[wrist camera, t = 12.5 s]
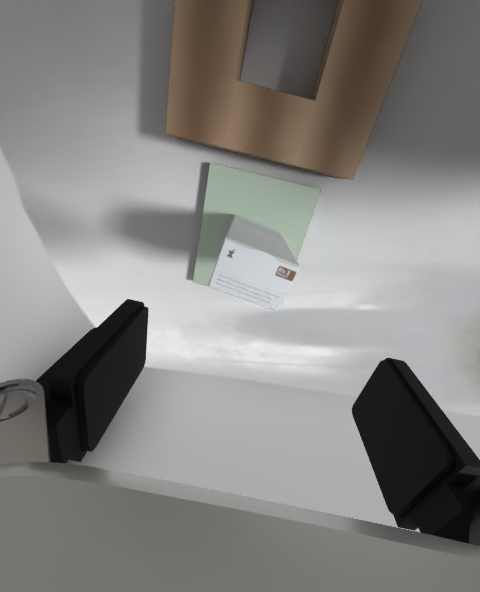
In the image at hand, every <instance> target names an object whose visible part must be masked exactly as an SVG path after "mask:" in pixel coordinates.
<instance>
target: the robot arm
mask: <svg viewBox="0 0 480 592" xmlns="http://www.w3.org/2000/svg"><path fill="white" fill-rule="evenodd" d="M147 324H148V308H147V307H144V303H143V302H139V301H134V300H130V299H127V300H126V301H125V302H124V303H123V304H122V305H121V306H120V307H119V308H117V309H116V310H115V311H114V312H113V313H112V314H111V315H110V316H109V317H108V318H107V319H106V320H105V321H104V322H103V323H102V324H101V325H100V326H99V327H98V328H93V329H92V330H90V331H89V332H88V333H87V334H86V335H85V336H84V337H83V338H82V339H80V340H79V341H78V342H77V343H76V344H75V345H74V346H73V347H72V348H71V349H70V350H69V351H68V352H67V353H65V354H64V355H63V356H62V357H61V358H60V359H59V360H58V361H57V362H56V363H55V364H54V365H52V367H50V368H49V369H48V370H47V371H46V372H45V373H44V374H43V375H42V376H41V377H40V378H38V379H37V380H36V381H33V380H30V379H16V380H9V381H6V382H2V383H0V592H480V460H479V459H478V457H477V456H476V455H475V453H474V452H473V451H472V449H471V448H470V447H469V445H468V444H467V443H466V441H465V440H464V439H463V438H462V436H461V435H460V434H459V432H458V431H457V430H456V428H455V427H454V426H453V424H452V423H451V422H450V420H449V419H448V418H447V417H446V415H445V414H444V412H443V411H442V410H441V409H440V407H439V406H438V405H437V403H436V402H435V401H434V399H433V398H432V397H431V395H430V394H429V393H428V391H427V390H426V389H425V387H424V386H423V385H422V383H421V382H420V381H419V380H418V378H417V377H416V376H415V374H414V373H413V372H412V370H411V369H410V368H409V366H408V365H407V364H406V363H405V362H404V361H401V360H396V359H392V358H386V359H385V360H383V361H381V362H380V363H379V364H378V366H377V368H376V369H375V371H374V372H373V374H372V376H371V377H370V379H369V380H368V382H367V384H366V385H365V387H364V389H363V390H362V392H361V393H360V395H359V397H358V398H357V400H356V401H355V403H354V405H353V407H352V414H353V417H354V420H355V423H356V425H357V428H358V431H359V433H360V436H361V439H362V441H363V443H364V446H365V449H366V452H367V454H368V457H369V460H370V462H371V465H372V468H373V470H374V473H375V476H376V478H377V481H378V484H379V486H380V489H381V491H382V494H383V497H384V499H385V502H386V505H387V507H388V509H389V511H390V512H391V513H392V514H393V515H394V518H395V520H396V523H397V525H398V527H400V528H396V527H391V526H386V525H382V524H377V523H372V522H367V521H363V520H358V519H353V518H349V517H344V516H339V515H334V514H329V513H324V512H320V511H315V510H310V509H305V508H300V507H295V506H290V505H285V504H281V503H276V502H271V501H266V500H261V499H256V498H251V497H246V496H241V495H236V494H231V493H226V492H221V491H216V490H211V489H206V488H201V487H196V486H191V485H186V484H181V483H176V482H171V481H165V480H161V479H156V478H151V477H146V476H140V475H134V474H129V473H122V472H118V471H112V470H107V469H101V468H95V467H89V466H81V465H73V464H66V463H67V461H68V460H73V461H78V462H81V460H82V459H83V457H84V456H85V454H86V452H87V451H90V452H92V451H93V450H94V449H95V447H96V446H97V444H98V443H99V441H100V439H101V437H102V436H103V434H104V433H105V431H106V429H107V427H108V426H109V424H110V422H111V421H112V419H113V418H114V416H115V414H116V412H117V411H118V409H119V407H120V406H121V404H122V402H123V401H124V399H125V397H126V396H127V394H128V392H129V391H130V389H131V388H132V386H133V384H134V383H135V381H136V379H137V377H138V376H139V374H140V373H141V371H142V369H143V367H144V364H145V360H146V342H147ZM418 527H419V529H420V532H421V533H420V532H415V531H410V530H416V529H417V528H418ZM401 528H405V529H410V530H405V529H401Z"/></svg>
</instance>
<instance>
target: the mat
mask: <svg viewBox="0 0 480 592" xmlns="http://www.w3.org/2000/svg"><path fill="white" fill-rule="evenodd" d="M320 191H321V190H320V189H316V188H312V187H308V186H304V185H300V184H296V183H292V182H288V181H284V180H280V179H276V178H272V177H267V176H263V175H259V174H255V173H251V172H247V171H243V170H239V169H235V168H231V167H227V166H223V165H219V164H215V163H210V167H209V174H208V181H207V188H206V195H205V202H204V208H203V215H202V222H201V229H200V236H199V243H198V250H197V257H196V263H195V270H194V277H193V283H197V284H202V285H206V286H208V284H209V281H210V278H211V275H212V273H213V270H214V268H215V265H216V262H217V259H218V256H219V253H220V250H221V247H222V244H223V241H224V238H225V236H226V233H227V231H228V228H229V226H230V224H231V222H232V220H233V217H234V215H238V216H240V217H243V218H245V219H248V220H250V221H252V222H255V223H257V224H260V225H262V226H265V227H267V228H269V229H272V230H274V231H277V232H279V233H281V234H282V235H283V237H284V239H285V241H286V243H287V244H288V246H289V248H290V250H291V252H292V253H293V255H294V257H295V259H296V261H297V259H298V256H299V253H300V250H301V247H302V244H303V241H304V238H305V235H306V232H307V230H308V227H309V224H310V221H311V218H312V215H313V212H314V209H315V206H316V203H317V200H318V197H319V194H320ZM282 303H283V302H282Z"/></svg>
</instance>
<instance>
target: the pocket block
mask: <svg viewBox="0 0 480 592" xmlns="http://www.w3.org/2000/svg"><path fill="white" fill-rule="evenodd" d="M253 2H254V0H175V4H174V19H173V33H172V47H171V61H170V76H169V90H168V104H167V119H166V133H167V134H169V135H172V136H174V137H176V138H180V139H184V140H188V141H192V142H196V143H200V144H204V145H208V146H212V147H216V148H220V149H224V150H228V151H232V152H236V153H240V154H244V155H248V156H252V157H256V158H260V159H264V160H268V161H272V162H276V163H280V164H285V165H289V166H293V167H297V168H301V169H305V170H309V171H313V172H317V173H321V174H325V175H329V176H333V177H337V178H341V179H352V180H353V178H354V176H355V173H356V170H357V168H358V165H359V163H360V160H361V157H362V155H363V152H364V150H365V147H366V145H367V142H368V139H369V137H370V134H371V132H372V129H373V126H374V124H375V121H376V119H377V116H378V113H379V111H380V108H381V106H382V103H383V101H384V98H385V95H386V93H387V90H388V88H389V85H390V82H391V80H392V77H393V75H394V72H395V69H396V67H397V64H398V62H399V59H400V57H401V54H402V51H403V49H404V46H405V44H406V41H407V38H408V36H409V33H410V31H411V28H412V26H413V23H414V20H415V18H416V15H417V13H418V10H419V7H420V5H421V2H422V0H339V1H338V5H337V8H336V12H335V16H334V19H333V23H332V26H331V30H330V33H329V37H328V41H327V44H326V48H325V51H324V55H323V58H322V62H321V66H320V69H319V73H318V76H317V80H316V83H315V87H314V91H313V94H312V98H311V99H307V98H303V97H299V96H296V95H292V94H288V93H284V92H280V91H276V90H272V89H269V88H265V87H261V86H257V85H253V84H249V83H246V82H242V81H240V78H241V72H242V66H243V60H244V54H245V48H246V43H247V37H248V31H249V25H250V19H251V13H252V7H253Z"/></svg>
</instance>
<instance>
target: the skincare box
mask: <svg viewBox="0 0 480 592" xmlns="http://www.w3.org/2000/svg"><path fill="white" fill-rule="evenodd" d="M299 269H300V266H299V264H298V262H297V261H296V259H295V257H294V255H293V253H292V252H291V250H290V248H289V246H288V244H287V243H286V241H285V239H284V237H283V235H282V234H281V233H279V232H277V231H274V230H272V229H269V228H267V227H265V226H262V225H260V224H257V223H255V222H252V221H250V220H248V219H245V218H243V217H240V216H238V215H234V217H233V220H232V222H231V224H230V226H229V228H228V231H227V233H226V236H225V238H224V241H223V244H222V247H221V250H220V253H219V256H218V259H217V262H216V265H215V268H214V270H213V273H212V275H211V278H210V281H209V284H208V286H209V287H211V288H214V289H217V290H219V291H222V292H225V293H228V294H231V295H234V296H237V297H239V298H242V299H245V300H248V301H251V302H254V303H256V304H259V305H262V306H265V307H268V308H270V309H273V310H276V311H278V309H279V307H280V305H281V304H282V302H283V300H284V298H285V296H286V294H287V292H288V290H289V288H290V286H291V284H292V282H293V280H294V279H295V277H296V275H297V273H298V271H299Z"/></svg>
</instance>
